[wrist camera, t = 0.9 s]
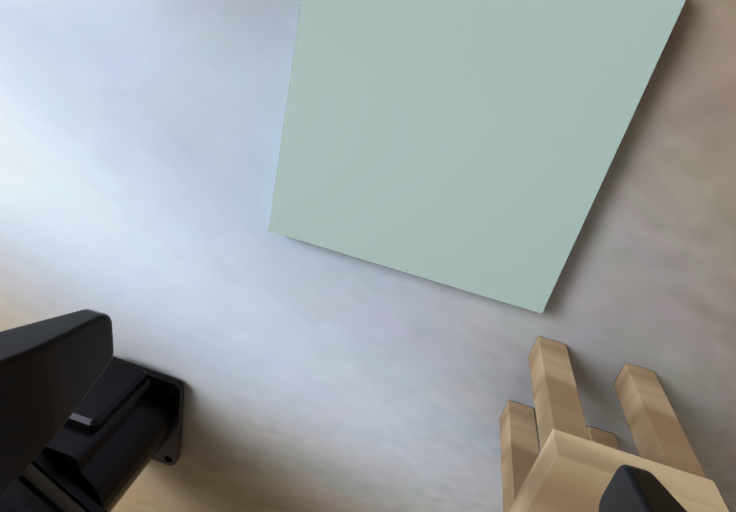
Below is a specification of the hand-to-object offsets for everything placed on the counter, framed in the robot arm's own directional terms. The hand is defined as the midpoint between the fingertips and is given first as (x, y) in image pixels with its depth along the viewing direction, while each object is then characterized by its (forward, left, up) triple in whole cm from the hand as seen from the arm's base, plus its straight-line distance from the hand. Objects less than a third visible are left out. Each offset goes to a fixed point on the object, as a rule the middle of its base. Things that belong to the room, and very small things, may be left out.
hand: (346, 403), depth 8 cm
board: (+3, 0, -13) cm, 13 cm away
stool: (-7, -9, -13) cm, 17 cm away
